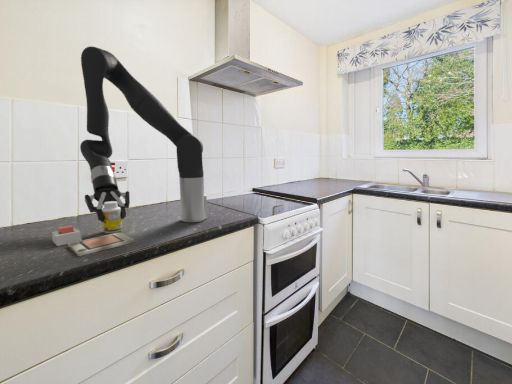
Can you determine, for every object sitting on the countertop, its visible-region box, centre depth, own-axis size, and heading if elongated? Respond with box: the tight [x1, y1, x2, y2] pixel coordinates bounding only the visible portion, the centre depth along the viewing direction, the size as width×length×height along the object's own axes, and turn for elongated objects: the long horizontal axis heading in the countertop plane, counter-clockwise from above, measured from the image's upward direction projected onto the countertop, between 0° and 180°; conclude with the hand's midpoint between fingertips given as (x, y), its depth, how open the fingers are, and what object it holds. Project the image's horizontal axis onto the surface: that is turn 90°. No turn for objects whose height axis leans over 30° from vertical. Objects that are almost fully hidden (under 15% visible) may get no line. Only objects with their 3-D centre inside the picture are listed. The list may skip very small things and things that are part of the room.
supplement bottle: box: [102, 201, 123, 234], centre depth 86 cm, size 6×6×10 cm
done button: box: [57, 224, 74, 234], centre depth 76 cm, size 3×3×2 cm
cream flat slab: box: [67, 231, 135, 257], centre depth 74 cm, size 14×11×1 cm
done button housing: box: [51, 227, 83, 247], centre depth 77 cm, size 6×6×3 cm
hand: (113, 218), depth 84 cm, fingers closed on supplement bottle, 5 cm apart
